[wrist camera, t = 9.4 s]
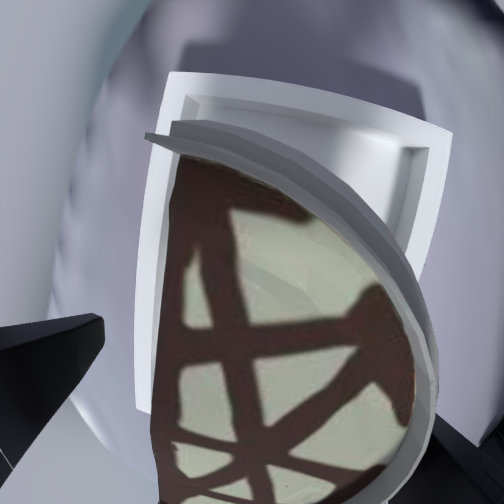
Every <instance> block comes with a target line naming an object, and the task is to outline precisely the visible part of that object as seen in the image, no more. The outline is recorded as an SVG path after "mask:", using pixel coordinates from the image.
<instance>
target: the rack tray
mask: <svg viewBox="0 0 504 504" xmlns="http://www.w3.org/2000/svg"><path fill="white" fill-rule="evenodd" d="M174 120H210V121H215V122H219V123H224V124H229V125H233V126H238V127H242V128H246V129H250V130H253V131H256V132H258V133H261V134H263V135H265V136H268V137H270V138H272V139H275V140H277V141H279V142H281V143H284V144H286V145H288V146H290V147H292V148H295V149H297V150H299V151H301V152H303V153H305V154H306V155H308V156H309V157H310V158H312V159H313V160H315V161H316V162H318V163H319V164H321V165H322V166H323V167H325V168H326V169H328V170H329V171H330V172H332V173H333V174H335V175H336V176H337V177H339V178H340V179H341V180H343V181H344V182H346V183H347V184H348V185H349V186H350V187H351V188H352V189H353V190H354V191H355V192H356V193H357V194H358V195H359V196H360V197H361V198H362V199H363V200H364V201H365V202H366V203H367V204H368V205H369V206H370V208H371V209H372V210H373V211H374V212H375V213H376V214H377V215H378V216H379V217H380V218H381V220H382V221H383V222H384V223H385V224H386V225H387V227H388V228H389V230H390V232H391V233H392V235H393V236H394V238H395V240H396V241H397V243H398V245H399V246H400V248H401V250H402V251H403V253H404V255H405V256H406V258H407V260H408V262H409V263H410V265H411V267H412V269H413V272H414V274H415V277H416V279H417V282H418V281H419V278H420V275H421V272H422V269H423V266H424V262H425V259H426V256H427V253H428V249H429V246H430V242H431V239H432V235H433V231H434V228H435V224H436V220H437V216H438V212H439V207H440V203H441V199H442V194H443V189H444V184H445V179H446V173H447V168H448V162H449V156H450V149H451V142H452V134H453V133H452V132H449V131H447V130H445V129H442V128H440V127H438V126H435V125H433V124H430V123H428V122H425V121H423V120H420V119H417V118H415V117H412V116H409V115H407V114H404V113H401V112H398V111H395V110H392V109H389V108H386V107H383V106H380V105H377V104H374V103H370V102H367V101H363V100H360V99H356V98H353V97H349V96H345V95H341V94H337V93H333V92H329V91H325V90H321V89H316V88H311V87H306V86H301V85H296V84H291V83H285V82H279V81H273V80H267V79H260V78H252V77H244V76H235V75H225V74H212V73H196V72H169V76H168V80H167V84H166V88H165V92H164V96H163V100H162V104H161V109H160V113H159V118H158V122H157V127H156V132H155V134H160V135H166V136H169V133H170V127H171V122H172V121H174ZM179 158H180V155H179V154H177V153H175V152H172V151H170V150H168V149H166V148H164V147H162V146H159V145H157V144H155V143H153V148H152V153H151V159H150V164H149V170H148V177H147V183H146V190H145V197H144V204H143V212H142V220H141V229H140V239H139V250H138V262H137V276H136V293H135V321H134V369H135V396H136V409H139V410H141V411H144V412H146V413H149V414H151V402H152V391H153V381H154V372H155V361H156V349H157V339H158V329H159V319H160V309H161V298H162V289H163V280H164V271H165V263H166V254H167V242H168V231H169V201H170V198H171V194H172V191H173V187H174V184H175V177H176V170H177V166H178V162H179Z"/></svg>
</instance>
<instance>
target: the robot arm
mask: <svg viewBox="0 0 504 504" xmlns="http://www.w3.org/2000/svg"><path fill="white" fill-rule="evenodd" d="M104 343H105V328H104V319H103V318H102V317H101V316H99V315H96V314H94V313H88V314H83V315H77V316H71V317H64V318H58V319H52V320H46V321H39V322H33V323H26V324H20V325H13V326H5V327H0V488H1V487H2V485H3V484H4V482H5V481H6V479H7V478H8V477H9V475H10V474H11V472H12V471H13V469H14V468H15V466H16V465H17V463H18V462H19V461H20V459H21V458H22V457H23V455H24V454H25V452H26V451H27V450H28V448H29V447H30V446H31V444H32V443H33V442H34V440H35V439H36V438H37V436H38V435H39V434H40V432H41V431H42V430H43V428H44V427H45V426H46V424H47V423H48V422H49V421H50V419H51V418H52V416H53V415H54V414H55V413H56V412H57V410H58V409H59V408H60V406H61V405H62V404H63V403H64V401H65V400H66V399H67V398H68V396H69V395H70V394H71V393H72V391H73V390H74V389H75V388H76V386H77V385H78V384H79V383H80V381H81V380H82V378H83V377H84V375H85V374H86V372H87V371H88V369H89V368H90V366H91V365H92V363H93V361H94V360H95V358H96V357H97V355H98V354H99V352H100V351H101V349H102V348H103V346H104ZM388 504H504V419H503V420H502V422H501V423H500V424H499V426H498V427H497V428H496V430H495V431H494V432H493V434H492V435H491V436H490V437H489V439H488V440H487V441H486V442H485V444H484V445H483V446H482V447H481V448H480V449H478V448H477V447H476V446H475V445H474V444H472V443H471V442H470V441H469V440H468V439H466V438H465V437H464V436H463V435H462V434H460V433H459V432H458V431H457V430H456V429H454V428H453V427H452V426H451V425H450V424H448V423H447V422H446V421H445V420H444V419H442V418H441V417H440V416H439V415H438V414H436V413H435V420H434V424H433V428H432V432H431V435H430V439H429V442H428V446H427V449H426V451H425V453H424V455H423V457H422V459H421V460H420V462H419V464H418V466H417V467H416V469H415V471H414V473H413V474H412V476H411V477H410V478H409V479H408V481H407V482H406V483H405V484H404V485H403V486H402V487H401V489H400V490H399V491H398V492H397V493H396V494H395V495H394V496H393V497H392V498H391V499H390V500H389V501H388Z"/></svg>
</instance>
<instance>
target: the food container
mask: <svg viewBox="0 0 504 504" xmlns="http://www.w3.org/2000/svg"><path fill="white" fill-rule="evenodd" d="M145 139H146V140H148V141H151V142H153V143H155V144H157V145H159V146H162V147H164V148H166V149H168V150H170V151H172V152H175V153H177V154H179V155H180V158H179V162H178V166H177V170H176V177H175V184H174V187H173V191H172V194H171V198H170V201H169V231H168V242H167V254H166V263H165V271H164V280H163V289H162V298H161V309H160V319H159V329H158V339H157V349H156V361H155V372H154V381H153V391H152V402H151V421H150V435H151V442H152V449H153V454H154V458H155V462H156V467H157V472H158V486H159V499H160V500H159V502H158V504H385V503H386V502H387V501H389V500H390V499H391V498H392V497H393V496H394V495H395V494H396V493H397V492H398V491H399V490H400V489H401V487H402V486H403V485H404V484H405V483H406V482H407V481H408V479H409V478H410V477H411V476H412V474H413V473H414V471H415V469H416V467H417V466H418V464H419V462H420V460H421V459H422V457H423V455H424V453H425V451H426V449H427V446H428V442H429V439H430V435H431V432H432V428H433V424H434V420H435V407H436V403H437V398H438V393H439V357H438V348H437V344H436V340H435V336H434V332H433V328H432V325H431V321H430V317H429V314H428V311H427V307H426V304H425V301H424V298H423V296H422V293H421V290H420V287H419V285H418V282H417V279H416V277H415V274H414V272H413V269H412V267H411V265H410V263H409V262H408V260H407V258H406V256H405V255H404V253H403V251H402V250H401V248H400V246H399V245H398V243H397V241H396V240H395V238H394V236H393V235H392V233H391V232H390V230H389V228H388V227H387V225H386V224H385V223H384V222H383V221H382V220H381V218H380V217H379V216H378V215H377V214H376V213H375V212H374V211H373V210H372V209H371V208H370V206H369V205H368V204H367V203H366V202H365V201H364V200H363V199H362V198H361V197H360V196H359V195H358V194H357V193H356V192H355V191H354V190H353V189H352V188H351V187H350V186H349V185H348V184H347V183H346V182H344V181H343V180H341V179H340V178H339V177H337V176H336V175H335V174H333V173H332V172H330V171H329V170H328V169H326V168H325V167H323V166H322V165H321V164H319V163H318V162H316V161H315V160H313V159H312V158H310V157H309V156H308V155H306V154H305V153H303V152H301V151H299V150H297V149H295V148H292V147H290V146H288V145H286V144H284V143H281V142H279V141H277V140H275V139H272V138H270V137H268V136H265V135H263V134H261V133H258V132H256V131H253V130H250V129H246V128H242V127H238V126H233V125H229V124H224V123H219V122H215V121H210V120H174V121H172V122H171V127H170V133H169V136H166V135H160V134H153V133H147V132H146V133H145Z"/></svg>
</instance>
